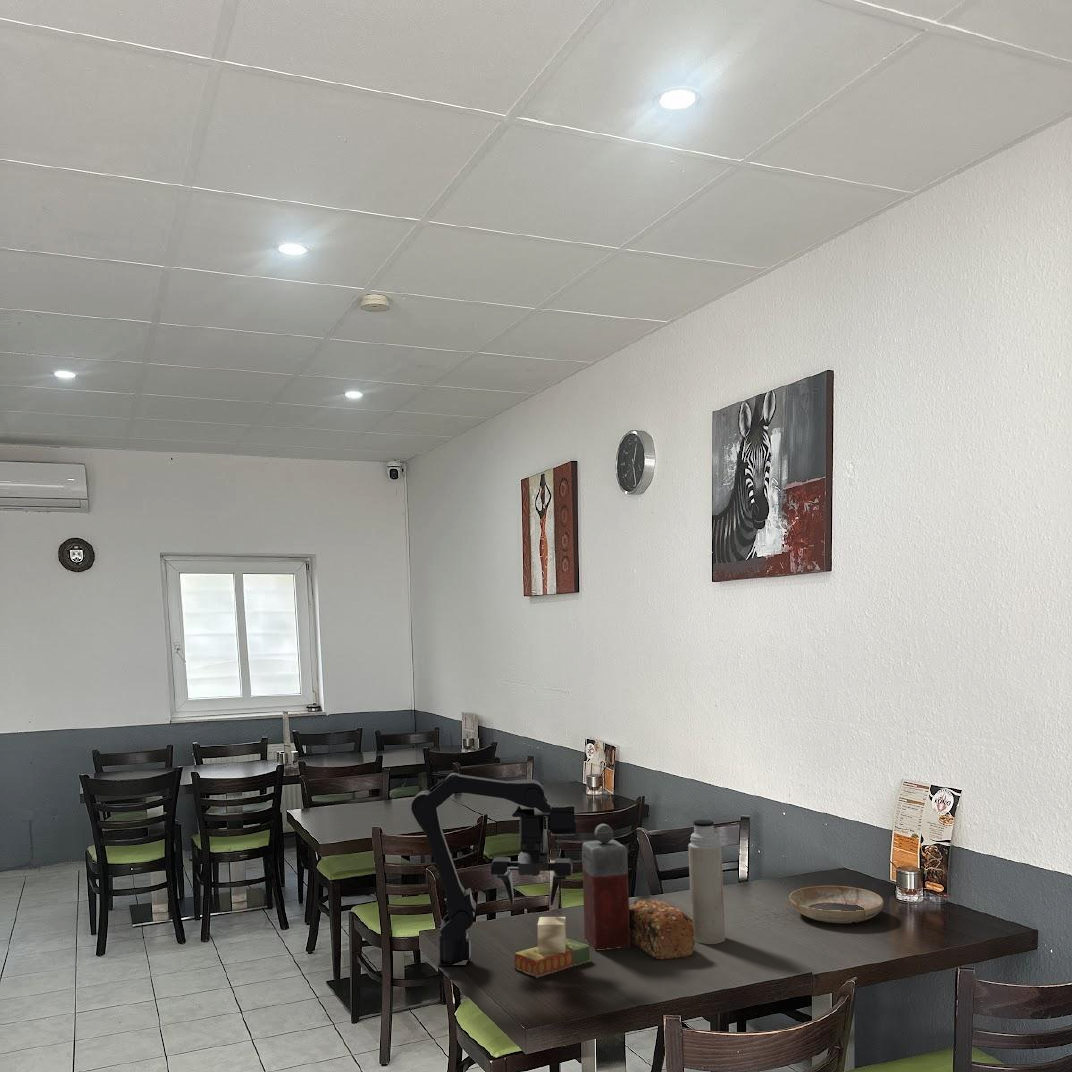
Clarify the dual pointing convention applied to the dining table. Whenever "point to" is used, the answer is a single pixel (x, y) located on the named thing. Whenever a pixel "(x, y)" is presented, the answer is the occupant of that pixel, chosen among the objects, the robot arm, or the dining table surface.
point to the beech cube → (551, 935)
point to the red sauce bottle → (605, 891)
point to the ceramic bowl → (838, 895)
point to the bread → (661, 929)
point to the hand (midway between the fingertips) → (532, 904)
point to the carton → (551, 958)
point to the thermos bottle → (706, 884)
